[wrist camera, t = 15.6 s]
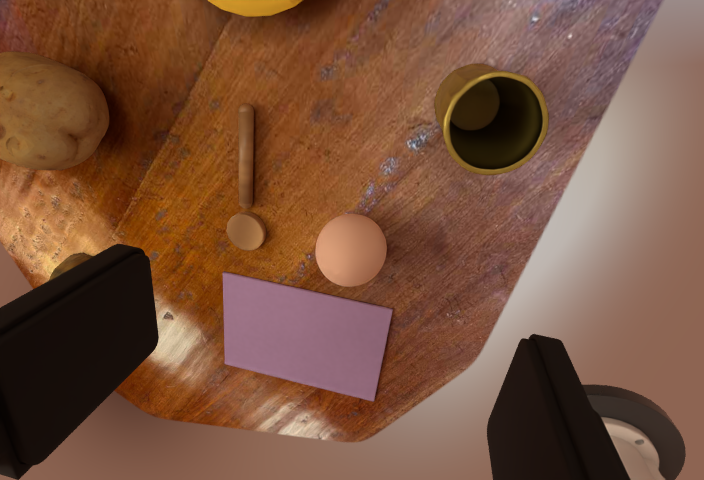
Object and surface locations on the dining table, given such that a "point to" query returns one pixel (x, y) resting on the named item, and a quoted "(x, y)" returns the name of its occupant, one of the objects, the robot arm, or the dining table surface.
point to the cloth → (304, 335)
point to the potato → (48, 113)
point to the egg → (351, 250)
